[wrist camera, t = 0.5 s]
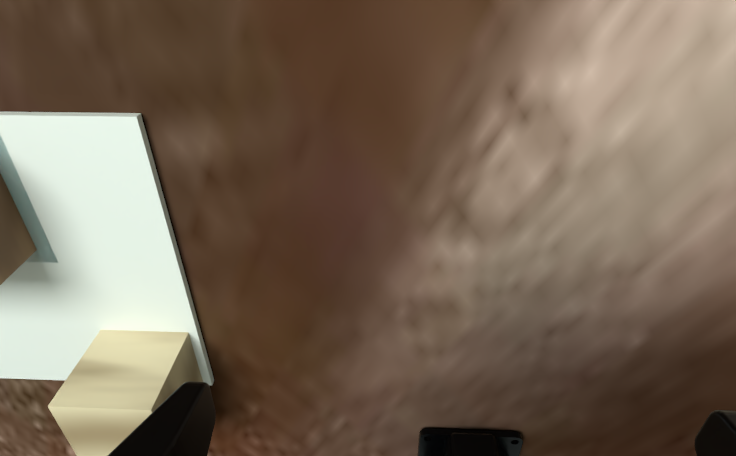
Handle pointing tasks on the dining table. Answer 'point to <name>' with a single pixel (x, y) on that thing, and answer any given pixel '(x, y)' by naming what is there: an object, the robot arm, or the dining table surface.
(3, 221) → the walnut block
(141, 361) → the maple cube
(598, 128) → the dining table surface
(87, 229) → the white board
